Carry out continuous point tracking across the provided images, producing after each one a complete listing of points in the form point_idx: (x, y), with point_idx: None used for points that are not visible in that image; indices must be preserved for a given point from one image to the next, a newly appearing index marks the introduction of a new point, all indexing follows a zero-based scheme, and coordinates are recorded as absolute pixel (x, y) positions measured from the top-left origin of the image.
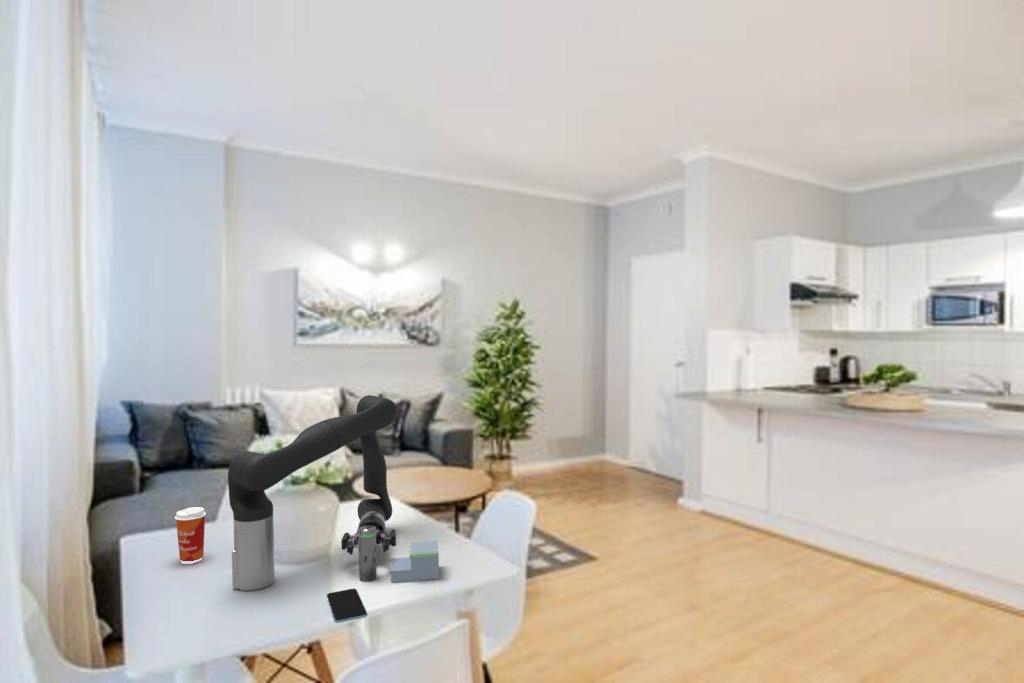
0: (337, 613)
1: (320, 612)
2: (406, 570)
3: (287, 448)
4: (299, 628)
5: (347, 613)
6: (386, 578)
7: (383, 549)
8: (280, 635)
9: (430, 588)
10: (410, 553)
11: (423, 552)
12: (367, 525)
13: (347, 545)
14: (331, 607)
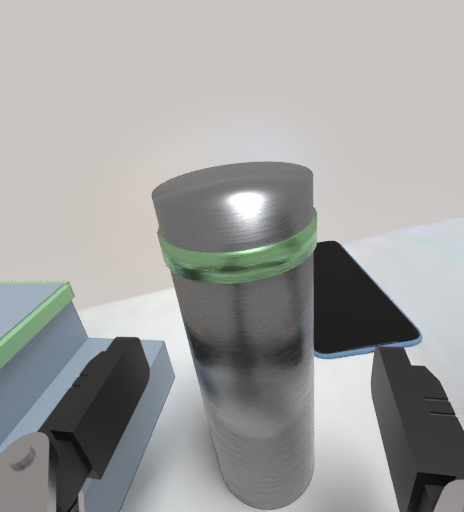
0: (339, 254)
1: (391, 269)
2: (105, 339)
3: None
4: (411, 236)
5: (314, 252)
6: (179, 423)
7: (143, 358)
8: (440, 225)
9: (84, 322)
10: (57, 292)
11: (9, 288)
12: (217, 205)
13: (454, 416)
14: (365, 273)
